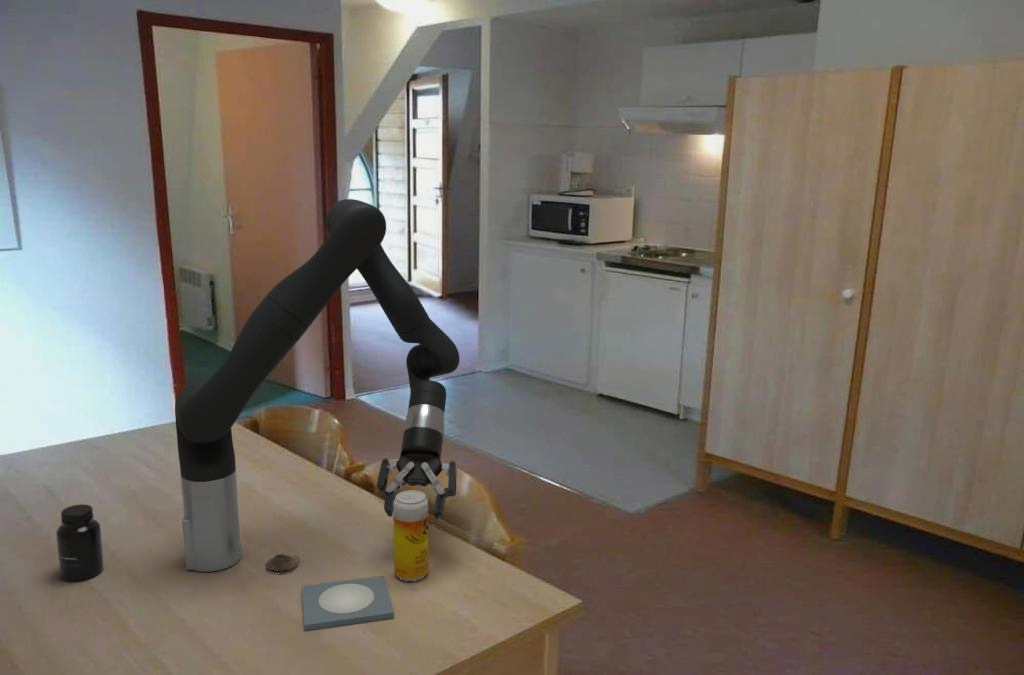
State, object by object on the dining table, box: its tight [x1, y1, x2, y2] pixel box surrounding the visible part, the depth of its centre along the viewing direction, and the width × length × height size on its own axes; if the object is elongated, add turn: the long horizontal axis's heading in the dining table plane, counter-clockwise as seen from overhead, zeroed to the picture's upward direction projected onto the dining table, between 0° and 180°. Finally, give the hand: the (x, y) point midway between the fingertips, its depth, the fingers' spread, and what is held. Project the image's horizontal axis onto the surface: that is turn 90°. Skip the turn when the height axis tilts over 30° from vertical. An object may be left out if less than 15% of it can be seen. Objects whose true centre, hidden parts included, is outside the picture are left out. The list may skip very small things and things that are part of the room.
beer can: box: [392, 489, 429, 582], centre depth 141 cm, size 6×6×15 cm
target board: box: [301, 575, 395, 632], centre depth 132 cm, size 14×12×1 cm
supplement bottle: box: [55, 504, 104, 582], centre depth 139 cm, size 7×7×12 cm
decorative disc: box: [265, 553, 300, 576], centre depth 144 cm, size 6×6×1 cm
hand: (413, 516), depth 142 cm, fingers open, 8 cm apart
